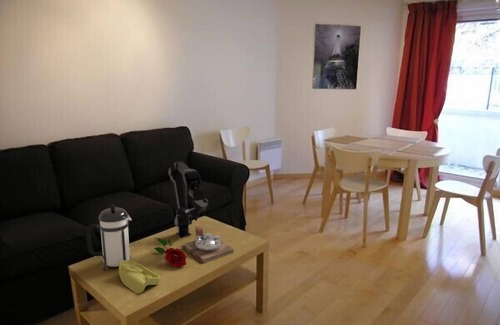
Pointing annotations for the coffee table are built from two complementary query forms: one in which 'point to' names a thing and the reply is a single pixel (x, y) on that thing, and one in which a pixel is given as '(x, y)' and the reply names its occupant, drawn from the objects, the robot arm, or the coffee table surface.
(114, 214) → the coffee press
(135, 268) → the plastic component
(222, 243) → the square disc baseplate
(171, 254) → the flower
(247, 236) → the coffee table surface
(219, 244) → the round disc with cubes
